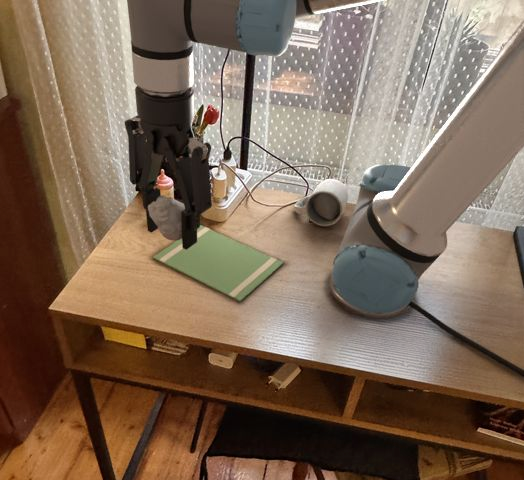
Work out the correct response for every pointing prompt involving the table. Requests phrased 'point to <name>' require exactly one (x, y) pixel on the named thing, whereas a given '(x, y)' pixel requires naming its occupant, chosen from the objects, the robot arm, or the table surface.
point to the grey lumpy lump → (167, 216)
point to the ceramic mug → (324, 203)
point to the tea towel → (220, 263)
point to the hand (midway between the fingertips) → (172, 236)
